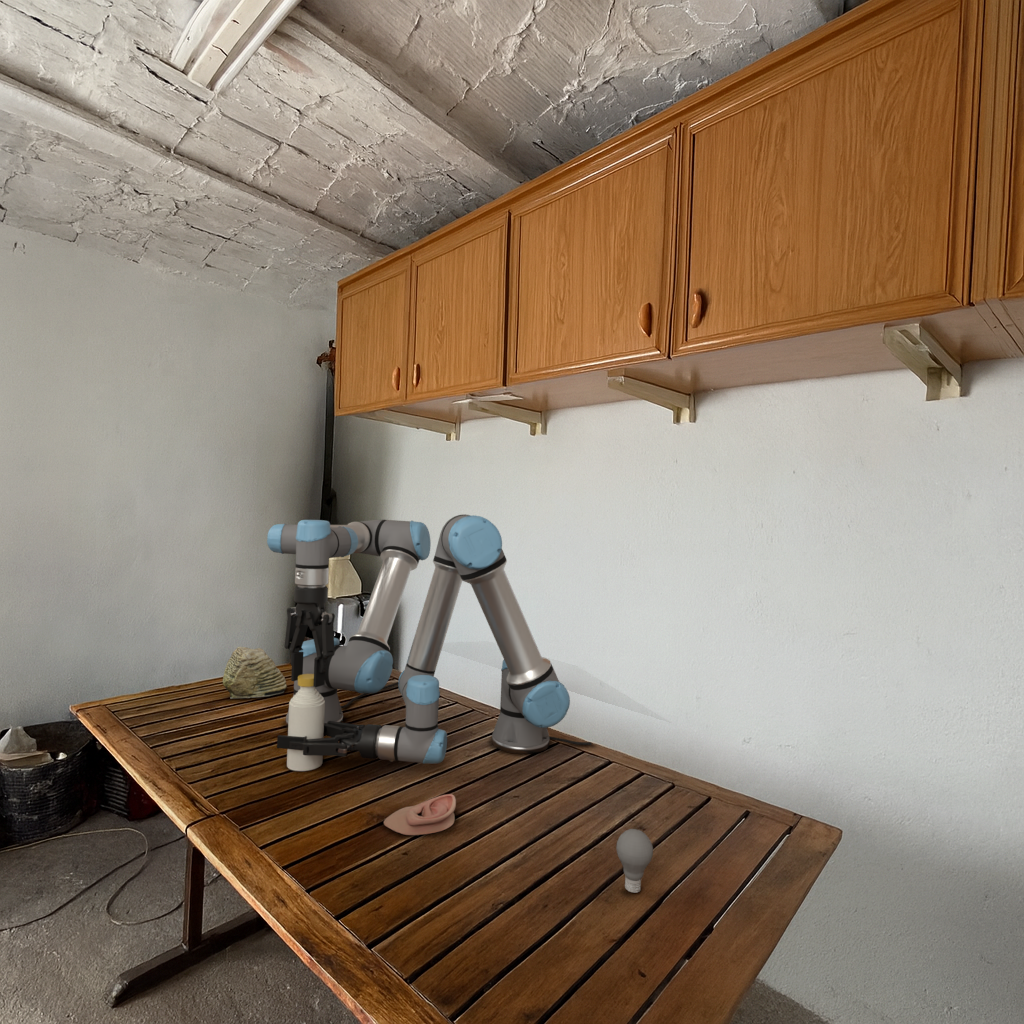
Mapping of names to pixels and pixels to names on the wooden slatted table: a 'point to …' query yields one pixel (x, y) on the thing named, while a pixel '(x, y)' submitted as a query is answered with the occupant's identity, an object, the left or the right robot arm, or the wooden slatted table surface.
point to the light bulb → (634, 857)
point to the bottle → (305, 726)
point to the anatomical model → (424, 816)
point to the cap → (306, 680)
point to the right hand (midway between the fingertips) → (286, 734)
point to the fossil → (252, 674)
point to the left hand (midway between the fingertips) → (307, 682)
